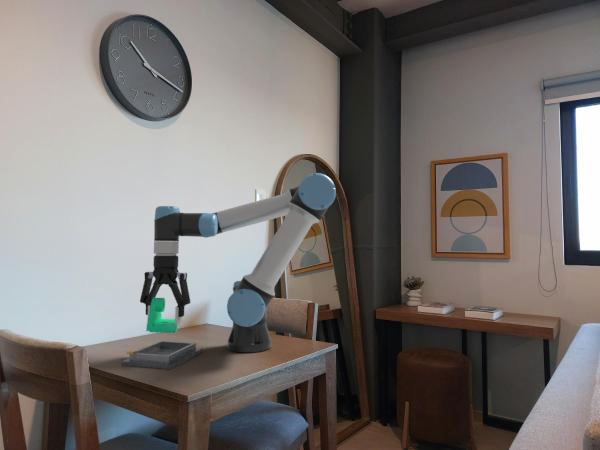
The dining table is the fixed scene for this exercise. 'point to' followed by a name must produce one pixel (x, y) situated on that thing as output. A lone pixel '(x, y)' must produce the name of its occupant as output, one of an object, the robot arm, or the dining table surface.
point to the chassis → (162, 355)
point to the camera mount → (159, 318)
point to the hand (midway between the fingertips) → (164, 326)
